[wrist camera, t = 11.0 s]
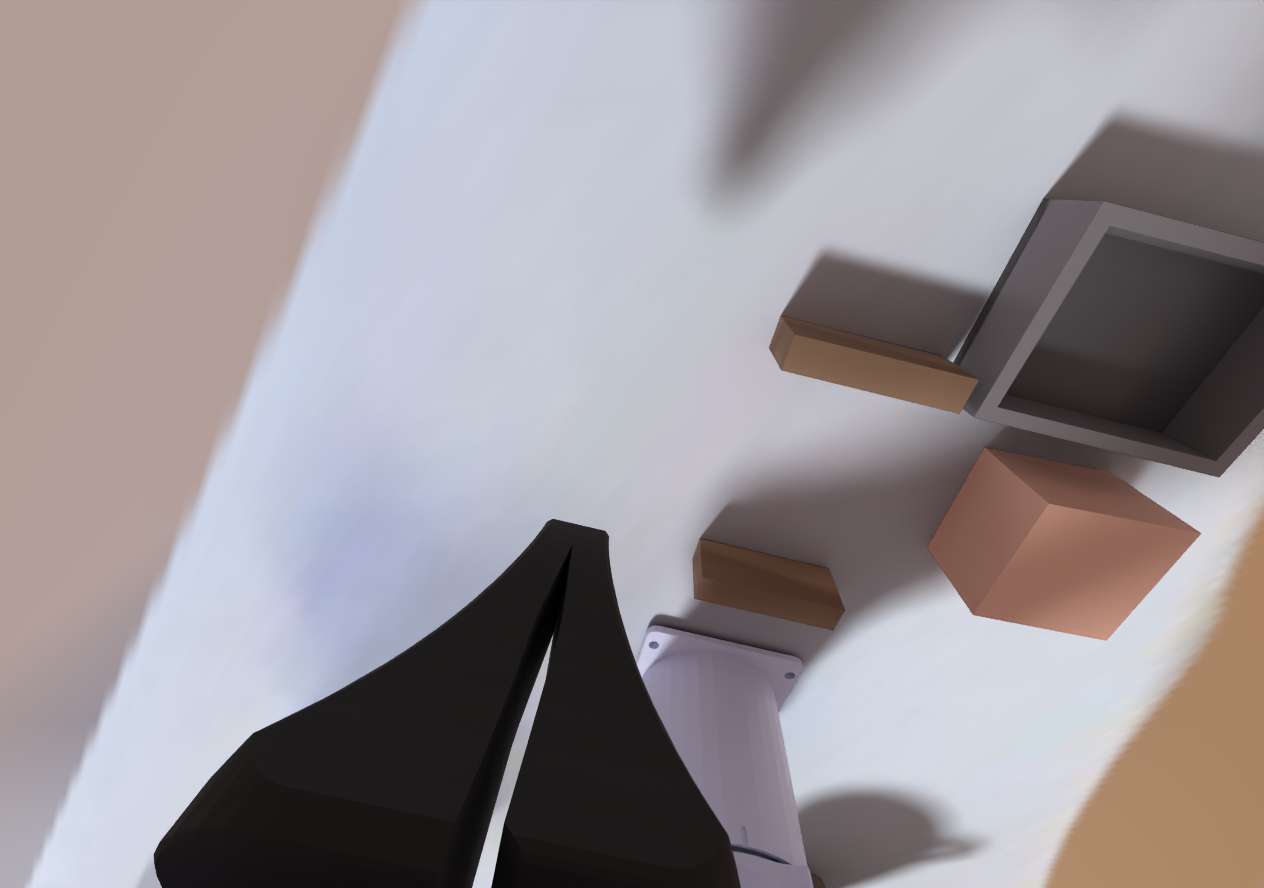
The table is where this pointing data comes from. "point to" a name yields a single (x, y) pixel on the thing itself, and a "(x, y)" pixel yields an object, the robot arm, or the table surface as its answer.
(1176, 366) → the box
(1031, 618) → the terracotta block
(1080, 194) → the table surface
